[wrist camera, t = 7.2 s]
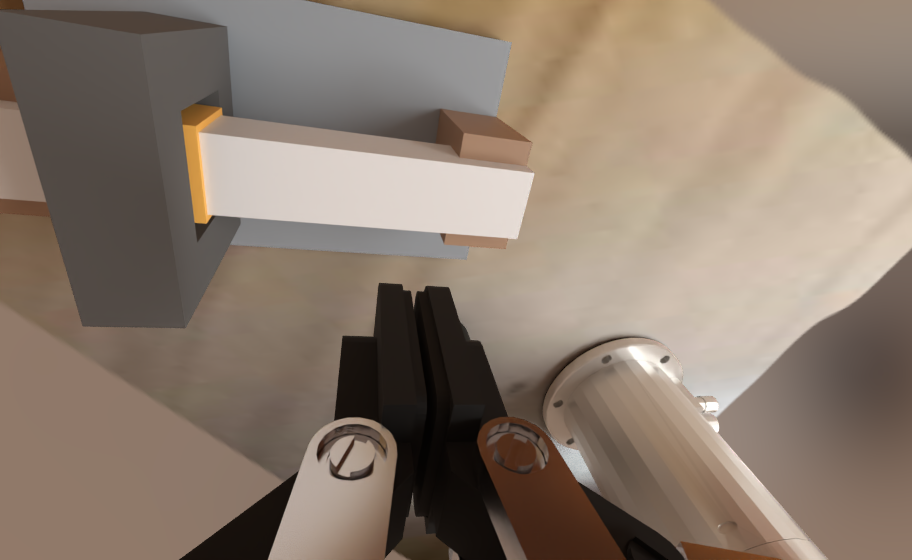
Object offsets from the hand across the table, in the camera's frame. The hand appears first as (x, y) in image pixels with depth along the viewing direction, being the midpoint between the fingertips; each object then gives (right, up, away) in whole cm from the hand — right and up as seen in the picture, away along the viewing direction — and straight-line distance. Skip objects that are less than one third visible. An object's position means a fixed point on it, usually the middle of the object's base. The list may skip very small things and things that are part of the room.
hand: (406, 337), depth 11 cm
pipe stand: (-7, +9, +12) cm, 17 cm away
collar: (-11, +8, +9) cm, 16 cm away
